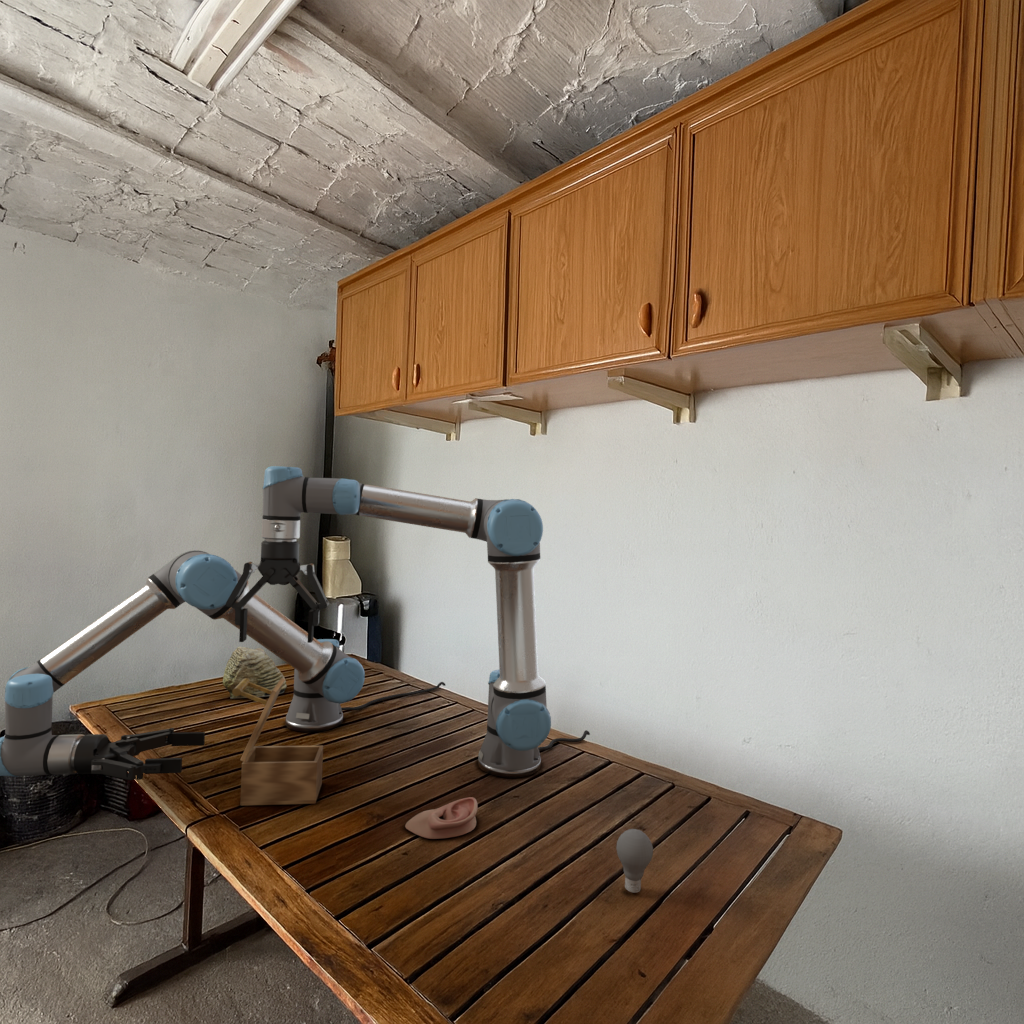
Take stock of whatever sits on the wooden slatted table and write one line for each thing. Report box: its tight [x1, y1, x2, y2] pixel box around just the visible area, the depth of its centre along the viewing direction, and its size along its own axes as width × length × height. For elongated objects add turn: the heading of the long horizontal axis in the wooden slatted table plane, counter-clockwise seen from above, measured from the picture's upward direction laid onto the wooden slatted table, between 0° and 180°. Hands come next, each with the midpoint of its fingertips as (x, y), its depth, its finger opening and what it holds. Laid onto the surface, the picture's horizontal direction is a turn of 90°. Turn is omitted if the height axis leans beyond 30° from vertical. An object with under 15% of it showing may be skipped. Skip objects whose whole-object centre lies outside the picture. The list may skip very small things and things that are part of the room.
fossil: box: [222, 646, 288, 699], centre depth 198 cm, size 9×18×15 cm, turn 132°
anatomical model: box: [404, 796, 479, 840], centre depth 124 cm, size 13×4×12 cm
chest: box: [239, 744, 324, 807], centre depth 134 cm, size 15×9×9 cm, turn 99°
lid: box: [232, 678, 286, 763], centre depth 133 cm, size 15×9×8 cm
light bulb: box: [615, 828, 654, 894], centre depth 106 cm, size 6×6×10 cm
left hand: (193, 751), depth 131 cm, fingers open, 13 cm apart
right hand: (276, 641), depth 133 cm, fingers open, 13 cm apart
